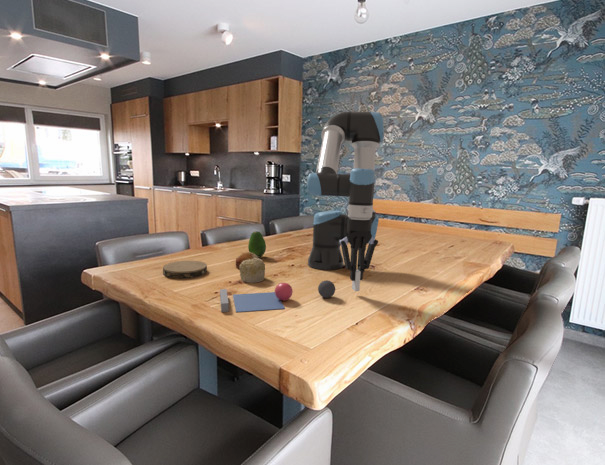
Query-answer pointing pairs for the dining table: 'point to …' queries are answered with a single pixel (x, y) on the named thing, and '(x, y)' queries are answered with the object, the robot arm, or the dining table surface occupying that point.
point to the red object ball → (283, 291)
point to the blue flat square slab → (257, 302)
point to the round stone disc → (184, 269)
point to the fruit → (257, 244)
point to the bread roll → (244, 258)
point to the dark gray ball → (326, 289)
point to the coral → (252, 270)
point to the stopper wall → (224, 300)
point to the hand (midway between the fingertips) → (355, 289)
